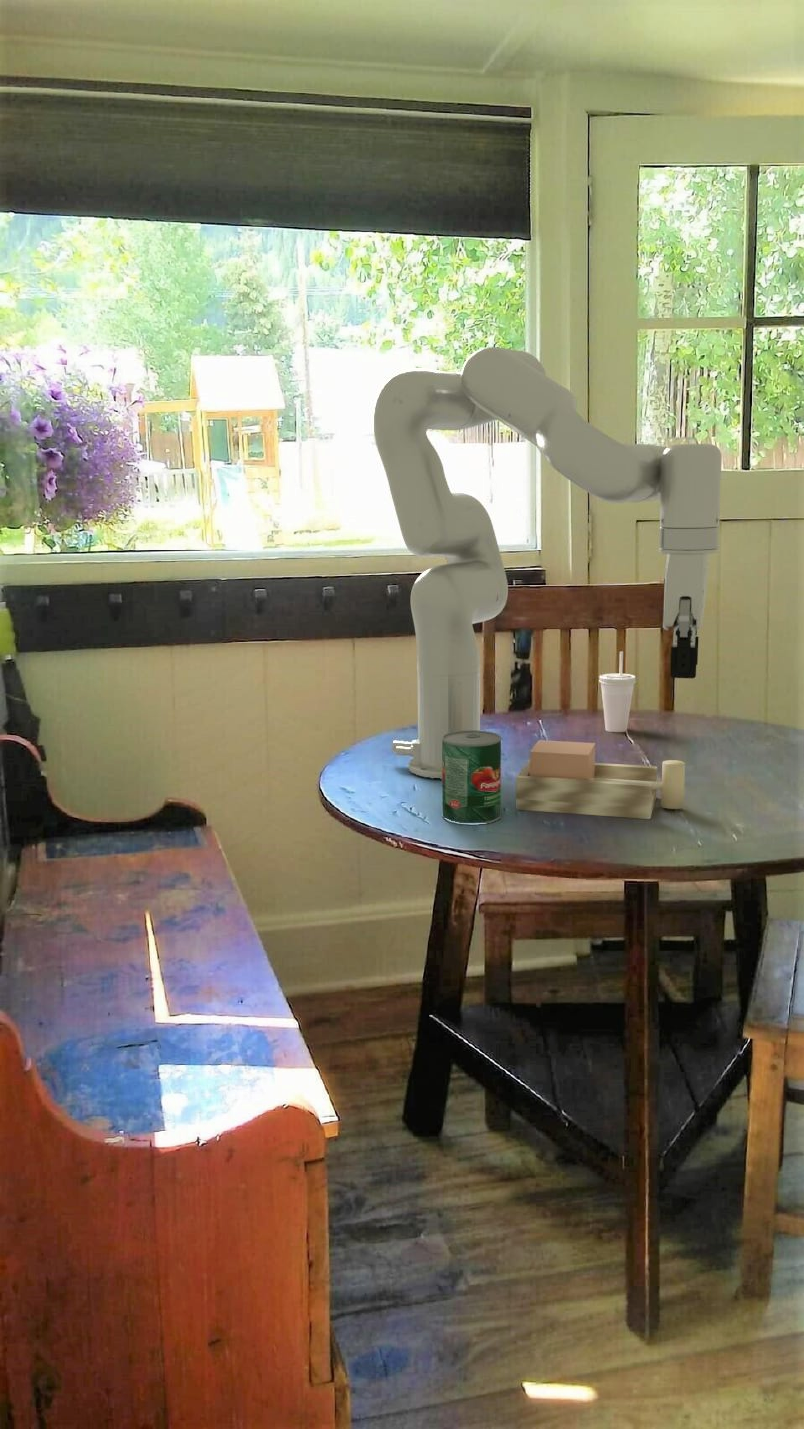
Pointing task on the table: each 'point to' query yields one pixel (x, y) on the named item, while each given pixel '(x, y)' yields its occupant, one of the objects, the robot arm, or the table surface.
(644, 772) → the wooden tray
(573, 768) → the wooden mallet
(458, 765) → the canned tomato
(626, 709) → the smoothie
